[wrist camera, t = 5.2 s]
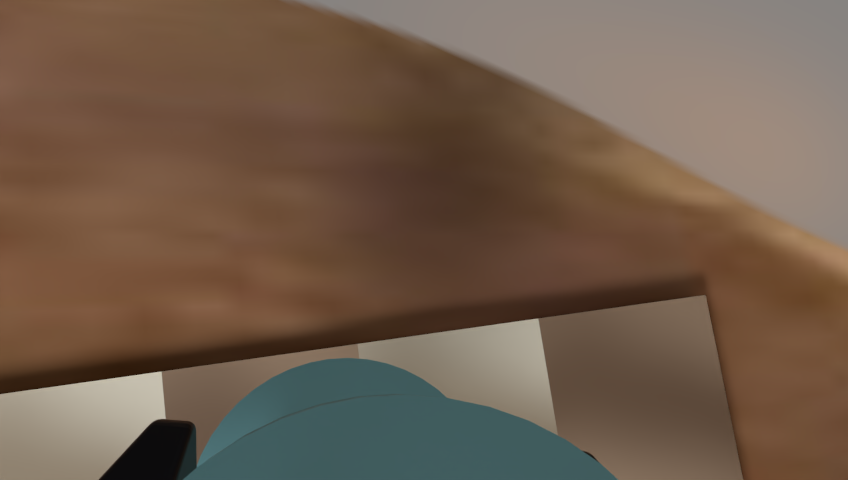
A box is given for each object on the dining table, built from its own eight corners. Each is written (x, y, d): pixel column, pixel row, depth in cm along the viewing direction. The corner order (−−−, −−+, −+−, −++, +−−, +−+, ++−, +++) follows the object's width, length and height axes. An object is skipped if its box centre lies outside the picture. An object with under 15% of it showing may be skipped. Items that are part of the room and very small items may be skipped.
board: (738, 508, 22) (749, 511, 21) (-29, 655, 18) (-40, 664, 18) (695, 296, 22) (705, 294, 22) (-41, 400, 19) (-52, 401, 19)
